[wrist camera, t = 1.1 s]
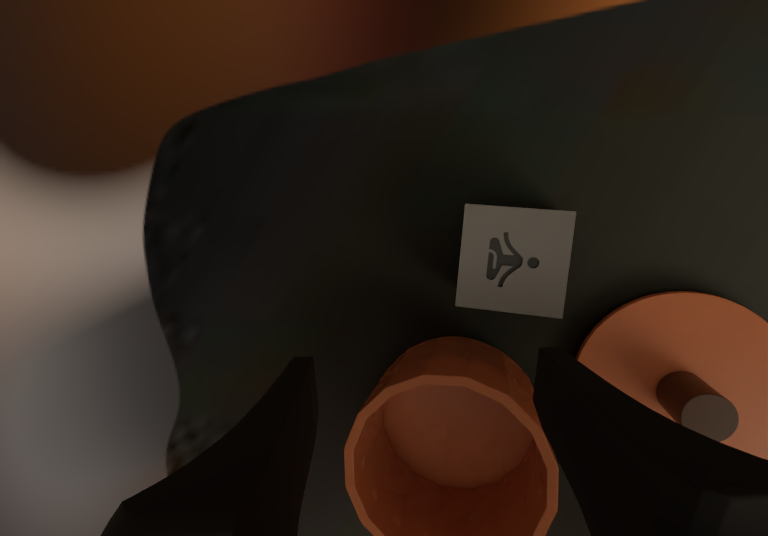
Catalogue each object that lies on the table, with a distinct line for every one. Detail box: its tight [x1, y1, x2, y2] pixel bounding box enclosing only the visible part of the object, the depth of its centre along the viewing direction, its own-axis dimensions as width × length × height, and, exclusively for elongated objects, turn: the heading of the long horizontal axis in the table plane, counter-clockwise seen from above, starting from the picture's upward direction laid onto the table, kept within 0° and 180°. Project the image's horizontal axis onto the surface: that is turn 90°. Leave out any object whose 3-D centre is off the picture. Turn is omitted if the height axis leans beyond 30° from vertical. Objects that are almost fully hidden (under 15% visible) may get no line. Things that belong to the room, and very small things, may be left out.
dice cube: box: [455, 204, 576, 319], centre depth 24 cm, size 5×5×5 cm
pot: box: [344, 336, 559, 536], centre depth 25 cm, size 10×10×7 cm
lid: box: [576, 291, 768, 460], centre depth 23 cm, size 11×11×4 cm
